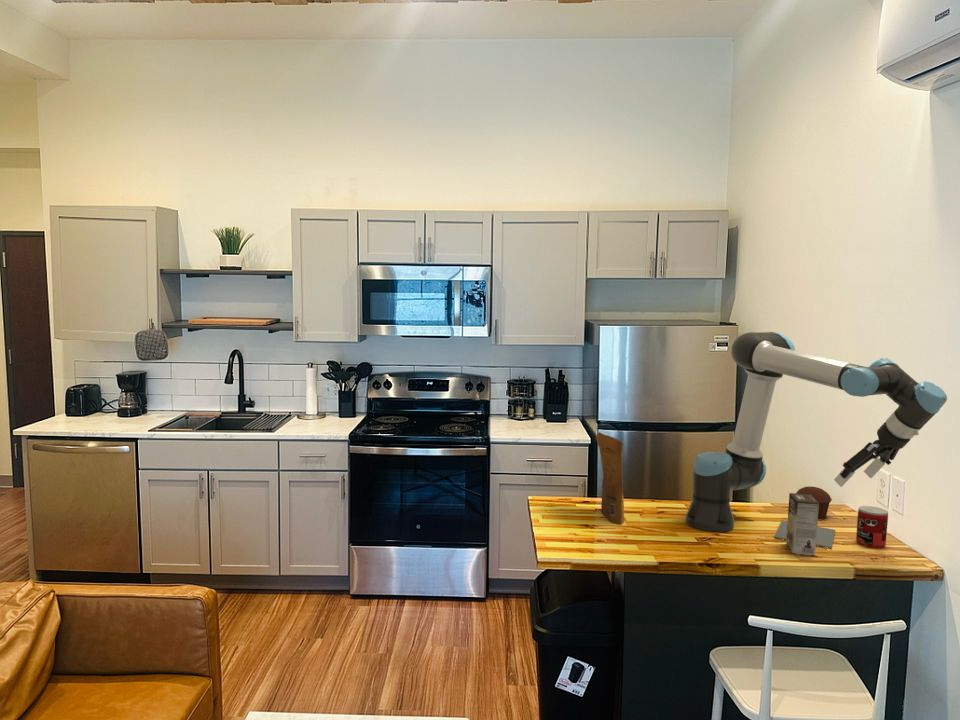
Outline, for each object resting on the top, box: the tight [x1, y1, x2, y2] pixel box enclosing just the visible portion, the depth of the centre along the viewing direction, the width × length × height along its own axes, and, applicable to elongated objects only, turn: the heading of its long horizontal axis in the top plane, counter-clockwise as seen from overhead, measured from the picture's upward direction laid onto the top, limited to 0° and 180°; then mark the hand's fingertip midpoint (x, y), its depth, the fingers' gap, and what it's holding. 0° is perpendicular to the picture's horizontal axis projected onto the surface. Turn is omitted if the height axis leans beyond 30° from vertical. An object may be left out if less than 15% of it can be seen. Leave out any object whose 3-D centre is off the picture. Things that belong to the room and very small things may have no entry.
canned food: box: [855, 505, 889, 549], centre depth 205 cm, size 8×8×11 cm
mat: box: [773, 520, 836, 549], centre depth 213 cm, size 16×19×1 cm
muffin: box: [795, 485, 833, 520], centre depth 233 cm, size 12×11×10 cm
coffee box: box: [785, 492, 819, 556], centre depth 199 cm, size 9×6×16 cm
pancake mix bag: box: [595, 431, 625, 525], centre depth 224 cm, size 7×19×28 cm, turn 8°
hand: (853, 478), depth 196 cm, fingers open, 13 cm apart
